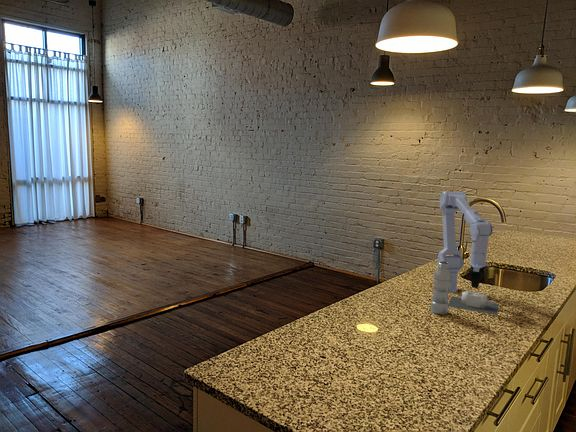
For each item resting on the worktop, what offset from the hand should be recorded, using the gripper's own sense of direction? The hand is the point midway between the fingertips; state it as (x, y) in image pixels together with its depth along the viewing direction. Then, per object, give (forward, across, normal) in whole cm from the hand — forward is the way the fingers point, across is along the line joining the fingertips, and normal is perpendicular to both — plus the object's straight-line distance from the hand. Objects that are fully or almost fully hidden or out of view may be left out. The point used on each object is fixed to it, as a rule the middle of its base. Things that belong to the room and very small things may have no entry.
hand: (475, 285), depth 178 cm
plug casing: (+8, 0, -1) cm, 8 cm away
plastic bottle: (+9, -16, +11) cm, 21 cm away
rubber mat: (+9, 0, 0) cm, 9 cm away
